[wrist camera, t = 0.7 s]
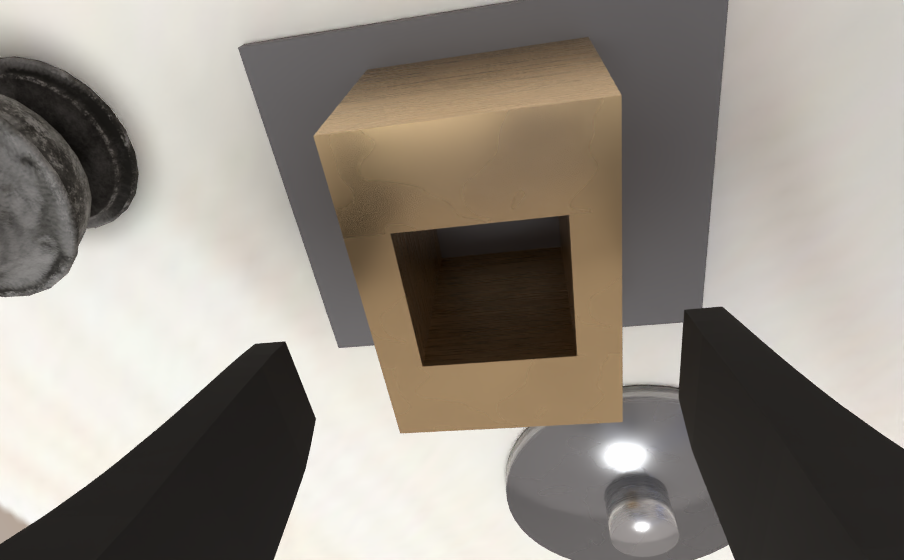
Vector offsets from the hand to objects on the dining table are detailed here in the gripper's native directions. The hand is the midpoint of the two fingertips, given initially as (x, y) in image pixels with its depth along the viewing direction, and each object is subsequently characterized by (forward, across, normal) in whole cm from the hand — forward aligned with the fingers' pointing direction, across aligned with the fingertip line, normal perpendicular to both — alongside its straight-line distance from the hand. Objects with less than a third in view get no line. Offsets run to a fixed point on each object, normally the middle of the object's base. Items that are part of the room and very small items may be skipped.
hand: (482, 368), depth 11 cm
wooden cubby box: (+7, 0, 0) cm, 7 cm away
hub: (+8, -4, +13) cm, 16 cm away
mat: (+8, 0, 0) cm, 8 cm away
